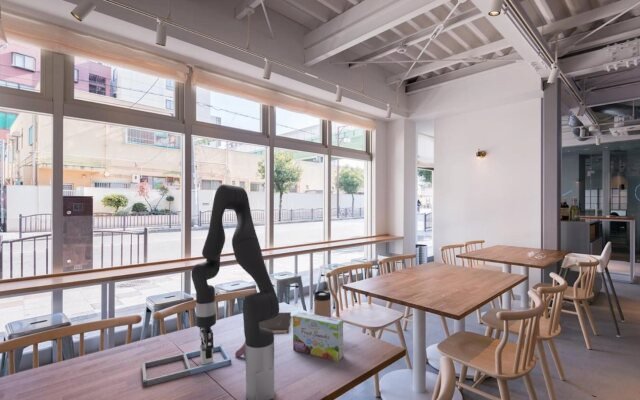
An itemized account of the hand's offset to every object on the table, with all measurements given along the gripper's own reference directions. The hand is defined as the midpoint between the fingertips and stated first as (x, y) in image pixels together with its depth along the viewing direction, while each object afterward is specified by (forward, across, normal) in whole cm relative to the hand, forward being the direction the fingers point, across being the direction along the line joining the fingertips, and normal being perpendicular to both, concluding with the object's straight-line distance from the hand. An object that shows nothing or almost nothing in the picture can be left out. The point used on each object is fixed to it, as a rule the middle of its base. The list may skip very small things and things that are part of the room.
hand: (206, 353), depth 131 cm
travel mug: (+3, -4, -51) cm, 51 cm away
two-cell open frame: (+3, 0, +7) cm, 8 cm away
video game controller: (+3, -1, -16) cm, 16 cm away
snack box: (+3, -17, -41) cm, 44 cm away
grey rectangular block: (+3, 0, 0) cm, 3 cm away
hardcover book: (+4, +22, -37) cm, 43 cm away
